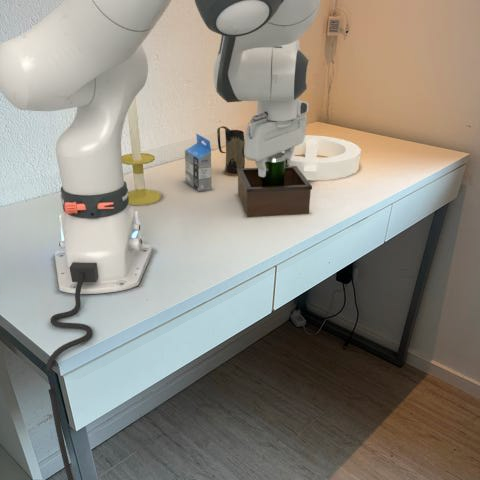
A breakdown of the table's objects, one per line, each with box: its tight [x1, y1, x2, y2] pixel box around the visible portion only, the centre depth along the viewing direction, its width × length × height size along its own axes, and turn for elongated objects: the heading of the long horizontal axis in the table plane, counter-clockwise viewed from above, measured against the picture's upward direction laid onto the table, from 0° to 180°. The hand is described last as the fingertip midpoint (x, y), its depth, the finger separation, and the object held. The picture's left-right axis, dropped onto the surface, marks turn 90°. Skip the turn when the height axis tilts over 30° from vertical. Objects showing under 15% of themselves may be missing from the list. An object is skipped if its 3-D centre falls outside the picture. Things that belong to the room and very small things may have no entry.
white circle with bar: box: [282, 134, 362, 181], centre depth 152 cm, size 28×28×5 cm
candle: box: [122, 97, 162, 206], centre depth 123 cm, size 10×10×27 cm
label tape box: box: [184, 133, 212, 192], centre depth 135 cm, size 9×4×12 cm, turn 28°
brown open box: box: [237, 166, 313, 218], centre depth 125 cm, size 15×15×7 cm
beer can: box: [262, 152, 285, 187], centre depth 124 cm, size 5×5×12 cm
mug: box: [216, 126, 246, 177], centre depth 144 cm, size 8×6×12 cm
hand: (274, 171), depth 123 cm, fingers open, 8 cm apart
